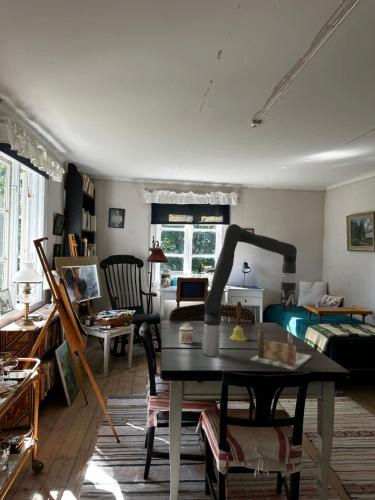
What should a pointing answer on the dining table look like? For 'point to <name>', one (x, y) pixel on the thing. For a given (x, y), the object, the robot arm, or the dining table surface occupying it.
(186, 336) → the teacup with lid
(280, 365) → the towel on rod
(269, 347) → the wooden panel
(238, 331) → the handbell
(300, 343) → the dining table surface
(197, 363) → the dining table surface
